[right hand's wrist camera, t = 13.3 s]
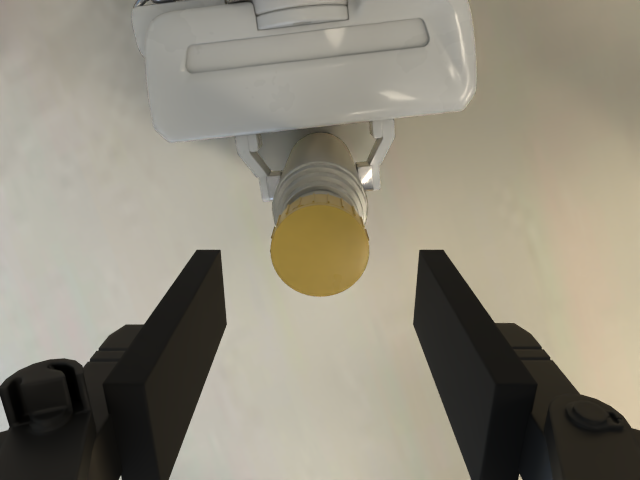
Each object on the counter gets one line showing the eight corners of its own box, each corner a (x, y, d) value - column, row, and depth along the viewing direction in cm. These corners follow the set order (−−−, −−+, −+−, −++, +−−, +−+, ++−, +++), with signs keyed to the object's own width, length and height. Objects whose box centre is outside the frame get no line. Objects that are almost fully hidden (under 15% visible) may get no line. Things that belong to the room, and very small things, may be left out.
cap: (266, 198, 19) (260, 210, 17) (361, 186, 19) (365, 197, 17) (281, 284, 21) (277, 302, 19) (370, 274, 20) (374, 291, 19)
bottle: (283, 136, 36) (246, 196, 18) (348, 128, 35) (377, 180, 17) (293, 199, 37) (268, 310, 19) (355, 191, 37) (387, 297, 19)
